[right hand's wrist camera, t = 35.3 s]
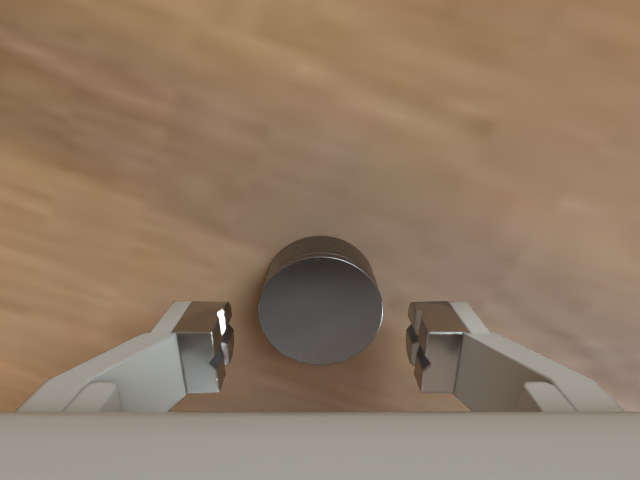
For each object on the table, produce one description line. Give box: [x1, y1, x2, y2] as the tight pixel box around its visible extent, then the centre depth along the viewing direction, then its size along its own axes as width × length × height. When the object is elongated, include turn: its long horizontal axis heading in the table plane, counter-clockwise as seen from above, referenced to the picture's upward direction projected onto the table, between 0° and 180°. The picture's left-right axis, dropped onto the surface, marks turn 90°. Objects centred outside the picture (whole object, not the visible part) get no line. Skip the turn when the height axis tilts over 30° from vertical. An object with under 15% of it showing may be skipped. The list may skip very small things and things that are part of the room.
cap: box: [258, 236, 383, 365], centre depth 11 cm, size 4×4×2 cm
